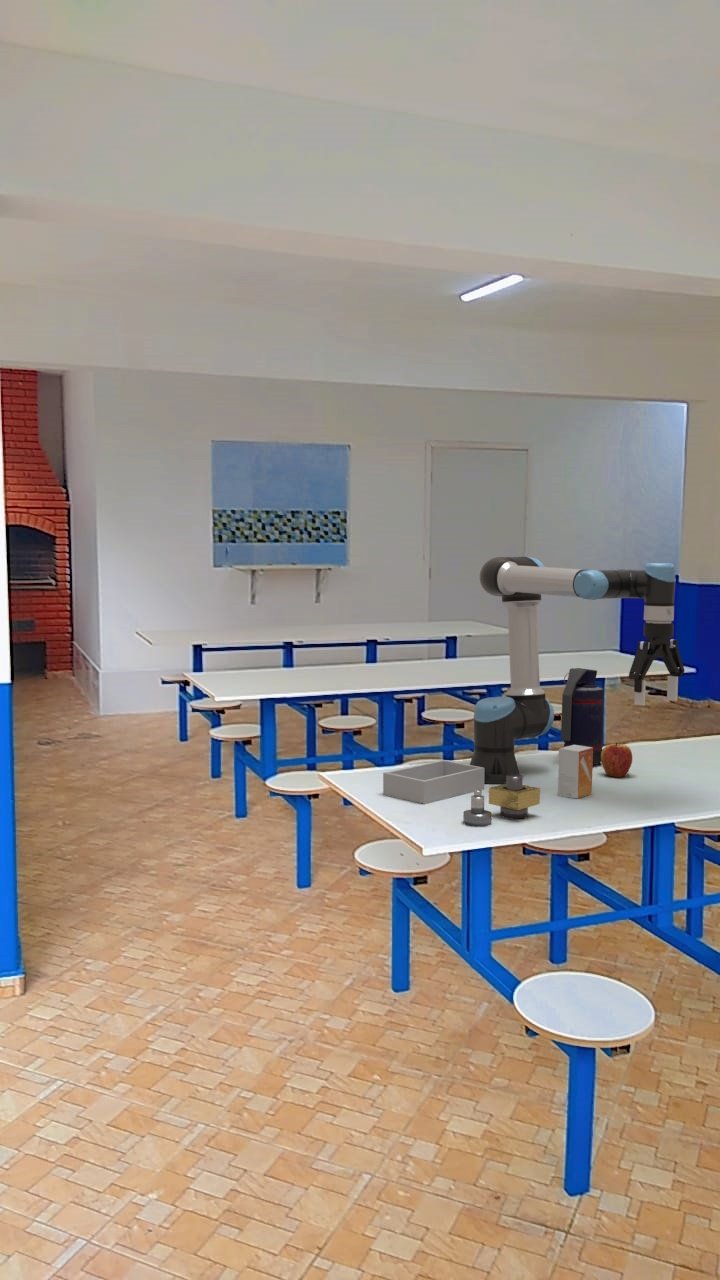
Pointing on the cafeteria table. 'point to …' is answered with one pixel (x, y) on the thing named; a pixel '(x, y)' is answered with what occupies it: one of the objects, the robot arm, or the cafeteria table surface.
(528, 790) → the gold square ring
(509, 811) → the dark grey round-headed cylinder
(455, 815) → the cafeteria table surface
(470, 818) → the cylinder
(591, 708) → the grenade
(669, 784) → the cafeteria table surface
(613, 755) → the apple
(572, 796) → the small box
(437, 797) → the gray bin
